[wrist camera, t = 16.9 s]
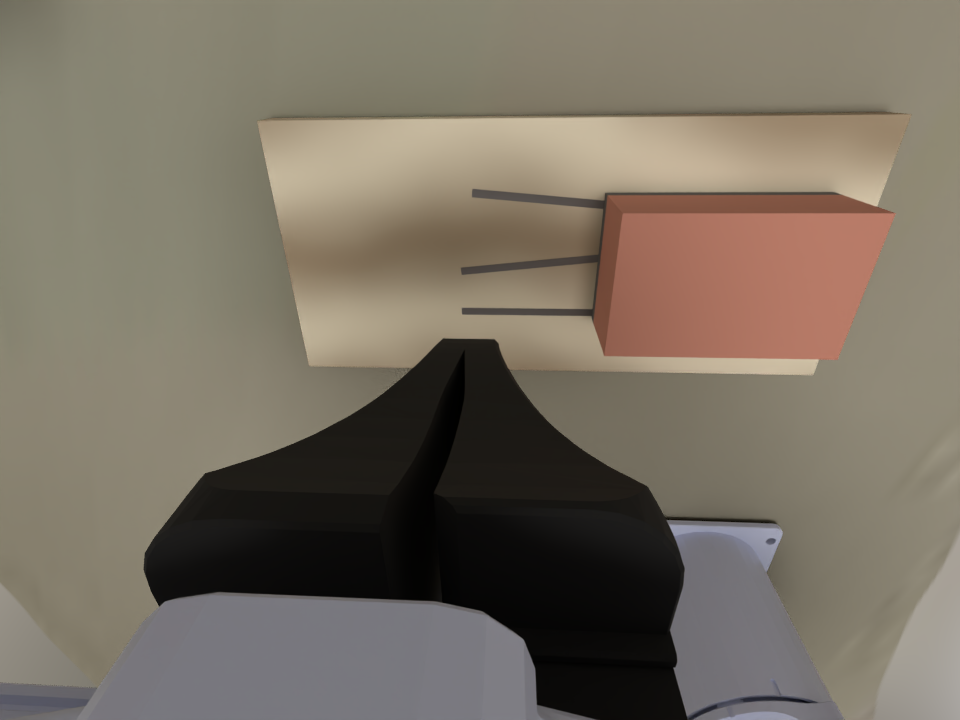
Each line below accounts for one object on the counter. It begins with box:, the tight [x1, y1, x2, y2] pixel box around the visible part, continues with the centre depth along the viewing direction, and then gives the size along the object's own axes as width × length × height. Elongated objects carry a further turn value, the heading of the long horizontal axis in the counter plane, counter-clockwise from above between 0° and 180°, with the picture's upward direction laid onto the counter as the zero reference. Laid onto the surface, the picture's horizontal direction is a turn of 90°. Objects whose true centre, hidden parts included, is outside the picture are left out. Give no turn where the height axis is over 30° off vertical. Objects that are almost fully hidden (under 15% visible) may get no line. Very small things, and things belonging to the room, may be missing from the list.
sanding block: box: [592, 192, 896, 360], centre depth 17 cm, size 5×8×3 cm, turn 91°
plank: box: [257, 112, 912, 375], centre depth 20 cm, size 10×22×1 cm, turn 91°
